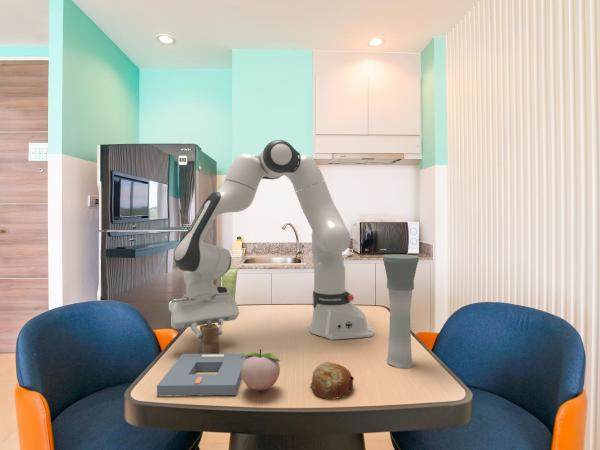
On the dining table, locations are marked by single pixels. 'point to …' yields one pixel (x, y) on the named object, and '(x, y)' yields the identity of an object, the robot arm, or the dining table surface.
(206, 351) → the wooden peg with knob
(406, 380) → the dining table surface
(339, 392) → the bread roll
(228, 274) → the tube
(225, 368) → the socket plate
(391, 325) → the container
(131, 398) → the dining table surface
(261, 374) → the decorative fruit
